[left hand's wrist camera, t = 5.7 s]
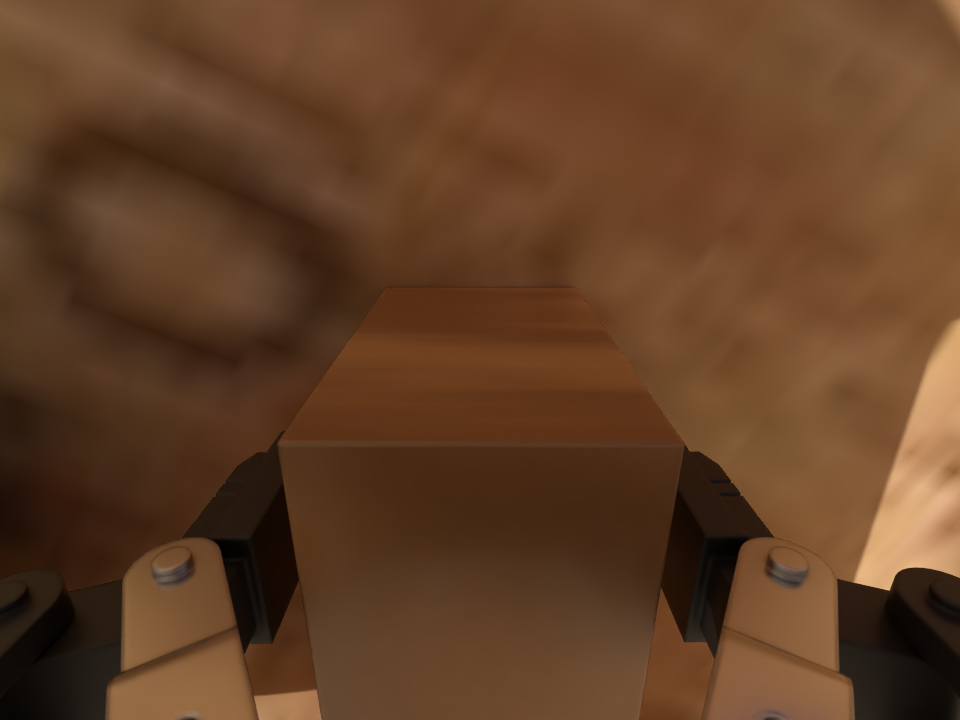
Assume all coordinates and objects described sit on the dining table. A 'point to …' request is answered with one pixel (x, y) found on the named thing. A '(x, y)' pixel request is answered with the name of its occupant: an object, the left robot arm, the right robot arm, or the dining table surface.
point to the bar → (480, 511)
